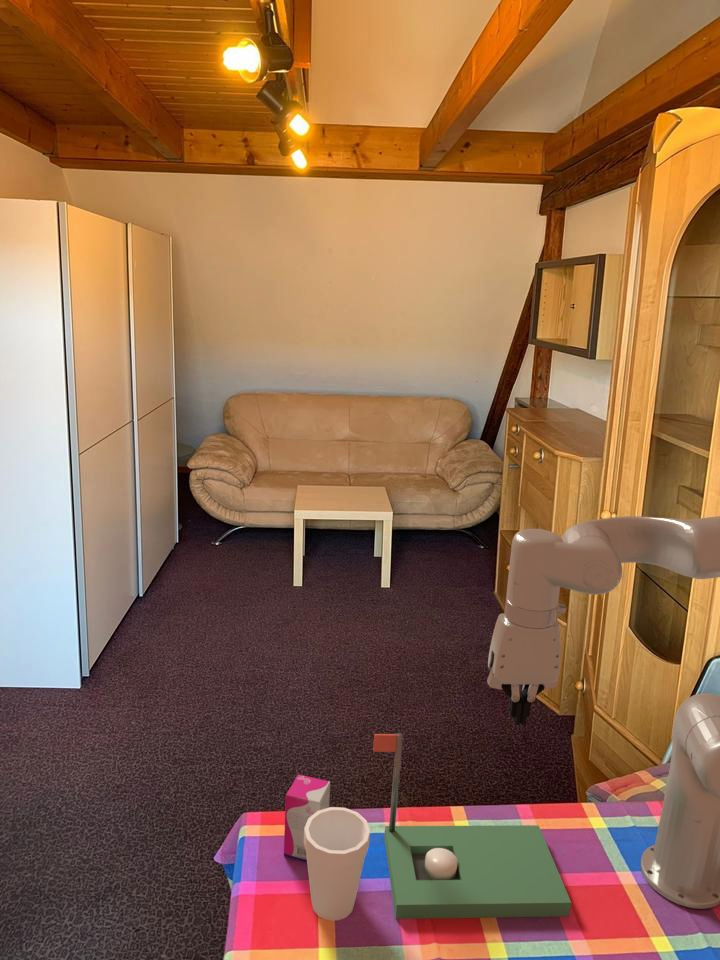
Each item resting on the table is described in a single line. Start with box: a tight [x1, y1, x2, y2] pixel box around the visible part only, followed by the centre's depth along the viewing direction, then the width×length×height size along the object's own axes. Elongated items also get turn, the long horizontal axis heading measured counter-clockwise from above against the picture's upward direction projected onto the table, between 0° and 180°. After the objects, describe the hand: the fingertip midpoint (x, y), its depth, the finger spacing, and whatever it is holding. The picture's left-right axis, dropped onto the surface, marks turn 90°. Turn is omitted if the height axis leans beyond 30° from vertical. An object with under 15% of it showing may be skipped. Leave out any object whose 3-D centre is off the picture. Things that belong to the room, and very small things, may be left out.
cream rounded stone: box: [424, 848, 458, 880], centre depth 117 cm, size 5×5×2 cm
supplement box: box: [283, 774, 331, 863], centre depth 120 cm, size 6×6×12 cm
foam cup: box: [304, 806, 371, 921], centre depth 110 cm, size 10×9×13 cm
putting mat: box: [372, 732, 572, 920], centre depth 115 cm, size 29×16×20 cm, turn 94°
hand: (517, 719), depth 116 cm, fingers closed
